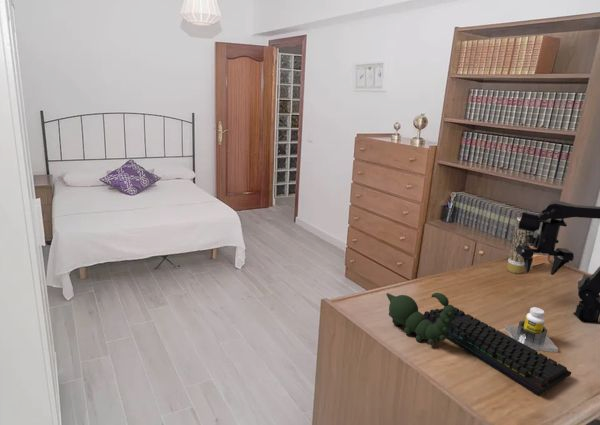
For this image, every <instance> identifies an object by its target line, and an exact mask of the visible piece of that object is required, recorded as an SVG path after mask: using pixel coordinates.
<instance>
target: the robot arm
mask: <svg viewBox="0 0 600 425" xmlns="http://www.w3.org/2000/svg"><path fill="white" fill-rule="evenodd" d="M520 217H521V220H520V223H519V228H518V229H521V230H526V231H531V232H532V233H536V232H537V231H540V232H539V233H537V235H536V237H534V235H532V234H531V235H527V236H526V243H529V246H527V245H518V246H517V247H516V252H517V253H518V254H519V255H520V256H522V257H523V259H524V263H525V265H524V269H525V273H527V274H529V272H530V270H531V265H532V264H533V260H534V259H533V256H534V255H541V256H550V257H551V256H552V257H553V263H552V265H551V270H550V275H552V276H554V275H555V274H556V272H558V271H559V270H560V269H561V268H562V267H563V266H564V265H565V264H568V263H569V262H571V261H572V262H573V261H574V258H575V254H574V252H572V251H570V250H569V249H568V248H563V247H557V248H556V245H557V244H559V242H560V241H559V240H558V237H559V232H560V229H561V227H567V226H568V224H567V222H566V221H565V219H569V218H581V219H582V218H584V219H585V218H586V219H598V220H600V206H597V205H595V206H594V205H592V206H591V205H577V204H573V203H570V202H566V201H561V200H556V199H555V200H550V201H549V202H548V203H547V204H546V206H545V209H543V210H541V211H540V212H539V213H538V214H537V213H536V214H535V213H531V212H527V211H522V214H521V216H520ZM541 223H542V224H541ZM540 226H541V228H540ZM530 246H531V247H530ZM532 247H533V248H532ZM577 296H578V297H579V299H580V300H579V303H578V304H577V305H576V308H575V311H573V315H574V316H575V317H576V318H577V319H578V320H580V321H579V322H582V323H585V324H599V325H600V320H599V318H600V266H598V268H597V269H596V270H595V271H594V273H592V274H591V275H589V276H588V275H586V274H584V275H583V276H582V278H581V279H580V280H579V281H578V282H577Z"/></svg>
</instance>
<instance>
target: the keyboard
mask: <svg viewBox="0 0 600 425" xmlns="http://www.w3.org/2000/svg"><path fill="white" fill-rule="evenodd" d="M450 305H451V306H453V307H454V308H455V309H456V310H457V313H455V314H454V316H455V317H456V319H455V320H453V321H452V322H451V323H452V324H453V325H454V327H453V328H449V329H448V330H447V332H449V333H450V337H449V338H445V340H448V341H449V342H451V343H452V344H454V345H456V346H457V347H459V348H460V349H462V350H463V351H465V352H467V353H469V354H470V355H471V356H473V357H474V358H476V359H478V360H479V361H481V362H483V363H484V364H486V365H487V366H489V367H491V368H492V369H494V370H496V371H497V372H498V373H501V374H502V375H503V376H505V377H507V378H509V379H510V380H512V381H513V382H515V383H516V384H518V385H520V386H521V387H523V388H525V389H526V390H528V391H529V392H531V393H533V394H534V395H535V396H537V397H540V396H541V395H542V394H544V393H546V392H547V391H548V390H549V391H550V389H552V388H554V387H555V386H557V385H558V384H560V383H562V382H563V381H565V380H566V379H567V378H569V377H570V376H571V374H572V371H570V370H568V368H567V366H565V365H564V364H561V363H558V362H557V361H556V360H553V359H552V358H551V357H548V356H546V355H544V354H542V353H541V352H540V353H539V351H538V350H534V349H532V348H530V347H528V346H526V345H524V344H523V343H521V342H519V341H517V340H515V339H513V338H511V337H510V336H509V334H506V333H504V332H502V331H500V330H499V329H497V328H495V327H492V326H491V325H489V324H487V323H485V322H484V321H481V320H480V319H478V318H476V317H474V316H473V315H471V314H469V313H468V314H466V313H465V311H464V310H461V309H459V308H457V307H455V306H454V305H452V304H450ZM442 311H443V308H440V309H439V308H434V309H430V311H428V310H427V311H424V313H422V314H423V315H424V317H425V319H426V320H429V321H430V322H431V323H432V324H434V323H436V321H437V319H438V318H440V314H441V312H442ZM496 329H497V330H496Z"/></svg>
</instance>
